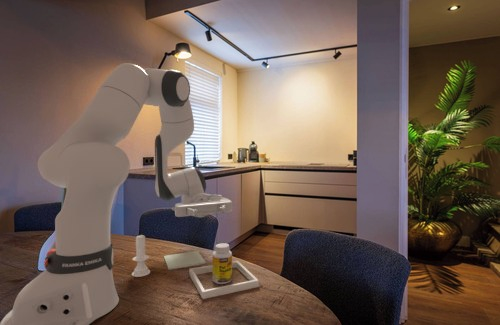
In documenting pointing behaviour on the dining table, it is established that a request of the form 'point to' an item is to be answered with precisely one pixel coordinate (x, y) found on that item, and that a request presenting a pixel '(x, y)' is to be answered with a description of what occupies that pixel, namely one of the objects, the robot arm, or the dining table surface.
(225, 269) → the supplement bottle
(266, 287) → the dining table surface
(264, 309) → the dining table surface
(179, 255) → the mat
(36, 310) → the robot arm
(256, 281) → the white square frame
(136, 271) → the candle
